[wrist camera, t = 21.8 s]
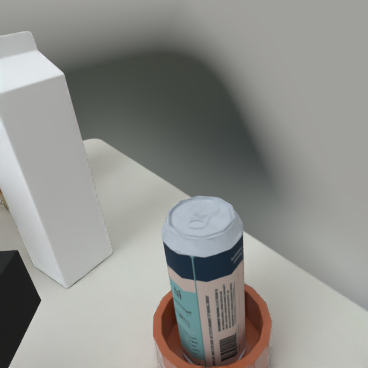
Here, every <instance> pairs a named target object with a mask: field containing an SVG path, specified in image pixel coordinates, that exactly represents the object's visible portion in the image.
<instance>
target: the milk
mask: <svg viewBox="0 0 368 368" xmlns="http://www.w3.org/2000/svg"><path fill="white" fill-rule="evenodd" d="M0 189H1V191H2V194H3V196H4V198H5V201H6V203H7V205H8V207H9V210H10V212H11V214H12V217H13V219H14V221H15V223H16V226H17V228H18V230H19V233H20V235H21V237H22V240H23V242H24V244H25V246H26V249H27V251H28V253H29V256H30V258H31V260H32V262H33V265H34V266H35V267H37V268H38V269H39V270H41V271H42V272H44V273H45V274H47V275H48V276H49V277H51V278H52V279H54V280H55V281H57V282H58V283H59V284H61V285H62V286H64V287H65V288H67V289H68V288H69V287H70V286H72V285H73V284H74V283H75V282H77V281H78V280H79V279H81V278H82V277H83V276H84V275H86V274H87V273H88V272H89V271H91V270H92V269H93V268H95V267H96V266H97V265H98V264H100V263H101V262H102V261H103V260H105V259H106V258H107V257H109V256H110V255H111V254H112V253H113V251H112V247H111V244H110V240H109V236H108V233H107V229H106V226H105V222H104V218H103V215H102V211H101V207H100V204H99V200H98V196H97V193H96V189H95V185H94V182H93V178H92V174H91V171H90V167H89V164H88V160H87V156H86V153H85V149H84V145H83V142H82V138H81V134H80V131H79V127H78V123H77V120H76V116H75V112H74V109H73V105H72V102H71V98H70V94H69V91H68V87H67V83H66V80H65V76H64V74H63V72H62V71H60V70H59V69H58V68H57V67H56V66H55V65H54V64H53V63H51V62H50V61H49V60H48V59H47V58H46V57H44V56H43V55H42V54H41V53H40V52H39V51H38V50H37V47H36V44H35V40H34V37H33V35H32V33H31V32H29V31H24V32H19V33H14V34H9V35H3V36H0Z"/></svg>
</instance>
